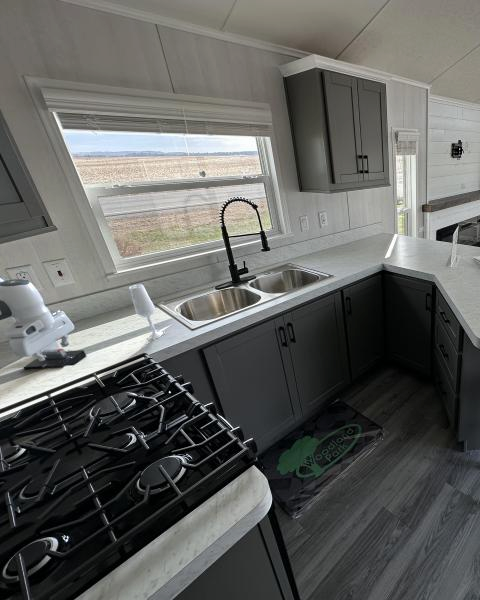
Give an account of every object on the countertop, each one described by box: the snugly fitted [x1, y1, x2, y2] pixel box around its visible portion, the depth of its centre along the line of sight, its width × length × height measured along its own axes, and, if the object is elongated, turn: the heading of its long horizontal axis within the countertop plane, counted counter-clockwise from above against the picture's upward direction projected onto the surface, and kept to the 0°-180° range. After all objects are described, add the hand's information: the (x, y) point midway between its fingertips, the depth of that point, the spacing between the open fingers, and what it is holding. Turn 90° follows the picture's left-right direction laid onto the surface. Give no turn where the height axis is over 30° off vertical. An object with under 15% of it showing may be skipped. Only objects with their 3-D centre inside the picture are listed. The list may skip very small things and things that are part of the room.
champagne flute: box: [128, 283, 164, 340], centre depth 141 cm, size 7×7×24 cm
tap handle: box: [42, 348, 68, 360], centre depth 126 cm, size 7×2×4 cm, turn 92°
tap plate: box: [22, 349, 87, 371], centre depth 127 cm, size 14×11×3 cm
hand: (55, 352), depth 126 cm, fingers open, 8 cm apart
